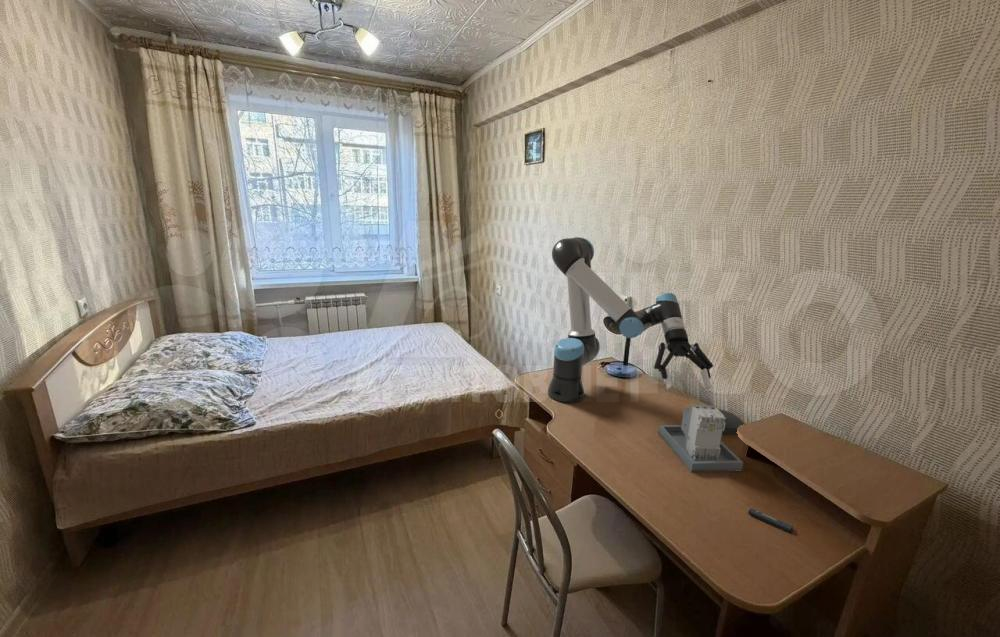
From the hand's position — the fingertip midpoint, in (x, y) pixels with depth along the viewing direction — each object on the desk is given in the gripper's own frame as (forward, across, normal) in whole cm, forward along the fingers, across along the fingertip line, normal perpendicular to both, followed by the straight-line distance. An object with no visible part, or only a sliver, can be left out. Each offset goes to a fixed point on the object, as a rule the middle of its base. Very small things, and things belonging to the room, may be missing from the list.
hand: (689, 388), depth 137 cm
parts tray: (+19, +1, +6) cm, 20 cm away
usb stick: (+42, +3, -16) cm, 45 cm away
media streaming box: (+8, +18, +19) cm, 27 cm away
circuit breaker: (+19, +1, +6) cm, 20 cm away
